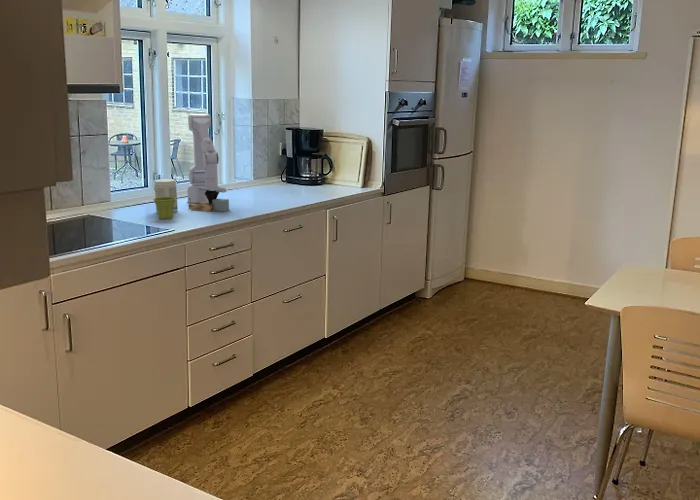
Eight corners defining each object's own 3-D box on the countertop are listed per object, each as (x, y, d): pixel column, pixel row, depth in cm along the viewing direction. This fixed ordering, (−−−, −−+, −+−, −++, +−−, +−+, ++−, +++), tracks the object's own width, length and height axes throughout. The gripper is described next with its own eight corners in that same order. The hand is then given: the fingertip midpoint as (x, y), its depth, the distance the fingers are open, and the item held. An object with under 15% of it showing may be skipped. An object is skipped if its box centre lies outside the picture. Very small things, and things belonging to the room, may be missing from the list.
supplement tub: (175, 209, 324) (173, 178, 321) (179, 212, 316) (178, 180, 312) (154, 211, 320) (152, 179, 316) (158, 214, 311) (156, 181, 308)
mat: (212, 211, 321) (212, 210, 321) (219, 209, 327) (219, 208, 327) (223, 212, 319) (223, 211, 319) (230, 210, 325) (230, 209, 325)
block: (212, 210, 322) (212, 199, 321) (218, 208, 326) (217, 198, 325) (223, 211, 320) (223, 200, 319) (229, 209, 324) (228, 199, 323)
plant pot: (165, 220, 296) (164, 200, 294) (149, 218, 301) (148, 198, 299) (181, 217, 304) (180, 198, 302) (166, 215, 309) (165, 196, 307)
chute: (188, 209, 325) (188, 202, 324) (198, 206, 332) (198, 199, 331) (212, 211, 320) (212, 204, 319) (221, 208, 327) (221, 201, 327)
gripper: (193, 178, 320) (194, 206, 323) (219, 179, 315) (220, 209, 318) (201, 176, 327) (202, 204, 330) (228, 178, 321) (229, 206, 324)
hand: (212, 206), depth 324 cm, fingers closed
